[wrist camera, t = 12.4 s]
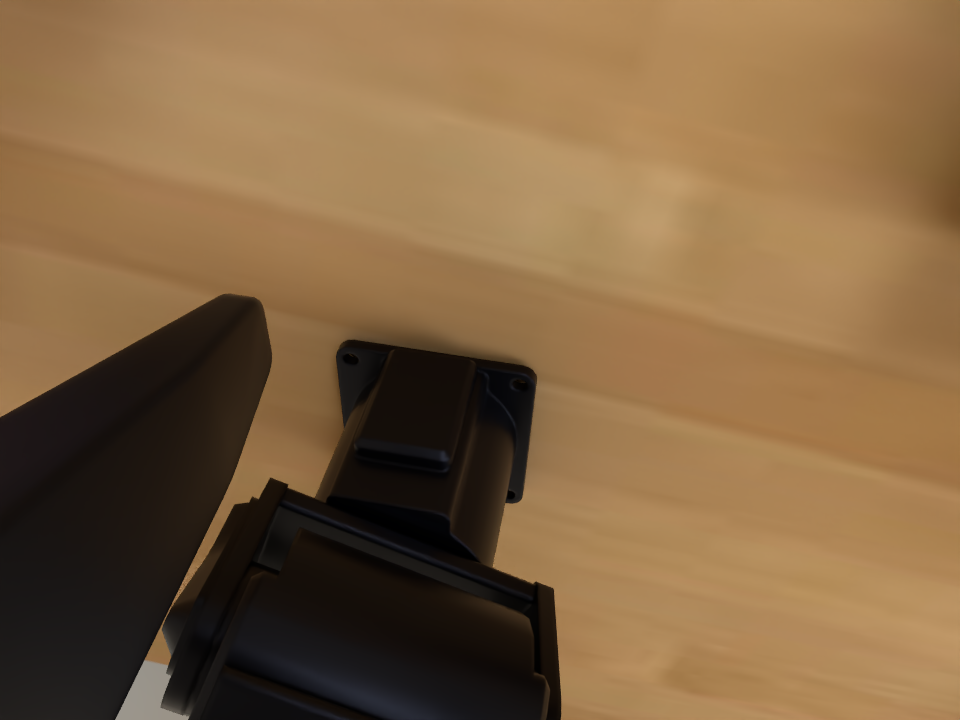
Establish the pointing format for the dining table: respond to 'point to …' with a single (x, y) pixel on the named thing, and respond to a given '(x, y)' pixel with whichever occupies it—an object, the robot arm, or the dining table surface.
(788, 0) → the dining table surface
